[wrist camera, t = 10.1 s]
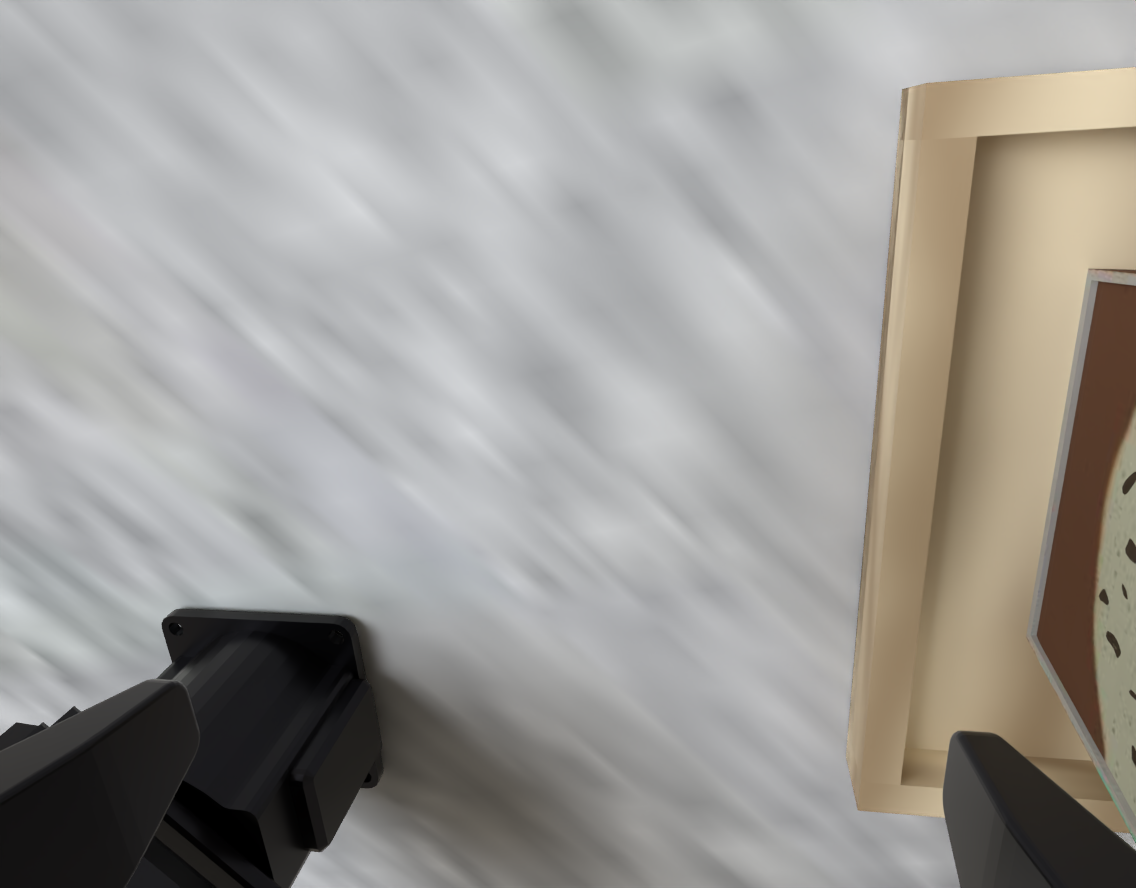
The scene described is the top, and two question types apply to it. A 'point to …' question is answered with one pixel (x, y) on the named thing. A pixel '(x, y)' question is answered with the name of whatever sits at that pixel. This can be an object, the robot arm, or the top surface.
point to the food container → (1095, 541)
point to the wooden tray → (979, 419)
